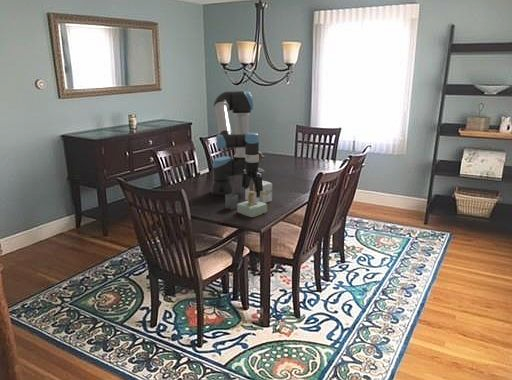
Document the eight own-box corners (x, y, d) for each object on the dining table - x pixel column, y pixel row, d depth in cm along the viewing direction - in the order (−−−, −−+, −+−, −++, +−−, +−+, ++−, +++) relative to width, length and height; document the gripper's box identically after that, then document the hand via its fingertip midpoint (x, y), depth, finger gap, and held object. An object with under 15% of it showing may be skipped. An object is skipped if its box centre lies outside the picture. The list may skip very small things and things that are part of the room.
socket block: (237, 212, 231) (237, 204, 230) (252, 207, 239) (252, 199, 238) (252, 217, 223) (252, 209, 222) (267, 212, 231) (267, 203, 230)
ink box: (252, 200, 251) (252, 182, 248) (262, 197, 257) (262, 180, 253) (262, 204, 245) (262, 185, 242) (272, 200, 251) (272, 182, 247)
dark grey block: (225, 207, 239) (224, 194, 236) (232, 205, 242) (232, 192, 240) (231, 210, 235) (231, 197, 233) (238, 207, 239) (238, 194, 236)
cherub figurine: (242, 167, 332) (242, 146, 327) (264, 167, 332) (264, 146, 327) (242, 173, 315) (241, 150, 310) (265, 173, 315) (265, 150, 310)
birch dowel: (247, 212, 231) (246, 192, 228) (251, 210, 234) (251, 190, 230) (251, 213, 229) (251, 193, 225) (256, 212, 231) (256, 192, 228)
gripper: (234, 159, 227) (235, 198, 233) (260, 165, 213) (260, 206, 220) (244, 157, 232) (244, 195, 239) (269, 163, 218) (269, 203, 225)
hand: (252, 200), depth 229 cm, fingers open, 7 cm apart
